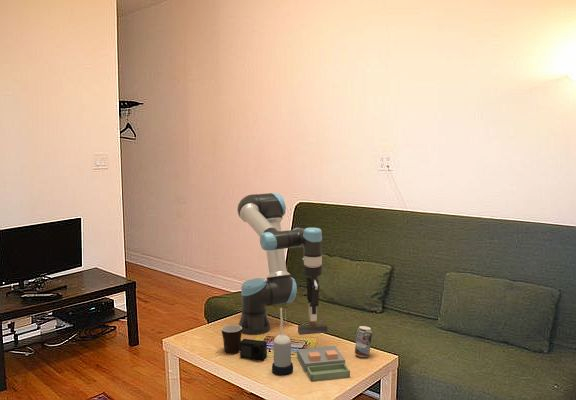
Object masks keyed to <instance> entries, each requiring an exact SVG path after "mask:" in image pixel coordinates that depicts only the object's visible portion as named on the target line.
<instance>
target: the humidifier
mask: <svg viewBox="0 0 576 400" xmlns="http://www.w3.org/2000/svg"><path fill="white" fill-rule="evenodd" d="M286 312H287V311H286V309H285V314H284V315H285V324H286V325H287V321H286V318H287V317H286V316H287V314H286ZM279 313H280V314H279V316H280V317H279V318H280V325H279V331H280V333H279V334H278V335H276V336H275V337H274V340H273V342H272V343H273V362H272V364H271V365H272V366H271V372H272V374H273V375H275V376H278V377H286V376H290V375H292V374H293V372H294V363H293V362H292V342H291V338H290V337H289V336H288V335H287V333H284V331H283V330H284V328H283V325H284V319H283V308H282V307H281V308H279Z"/></svg>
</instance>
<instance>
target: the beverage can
mask: <svg viewBox="0 0 576 400" xmlns="http://www.w3.org/2000/svg"><path fill="white" fill-rule="evenodd" d="M372 337H373V331H372V328H371V327H369V326H365V325H359V326H358V328H357V330H356V338H355V347H354V348H355V349H354V353H355V354H356V356H358V357H360V358H367V357H369V355H370V353H371V344H372Z"/></svg>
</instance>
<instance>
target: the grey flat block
mask: <svg viewBox="0 0 576 400" xmlns="http://www.w3.org/2000/svg"><path fill="white" fill-rule="evenodd" d="M329 350H335V351H336V352H337V353H338V359H331V360H328V359H327V358H326V356H325V351H329ZM296 351H297V352H296V353H297V356H296V357H297V359H298V361H299V363H300V365H301V367H302V369H303V371H304V373H306V374H307V367H309V366H319V365H329V364H339V363H345V364H346V359H345V358H344V356H343V355H342V353H341V352H340V351H339V349H338V348H337V347H336V345H331V346H320V347H309V348H297V350H296ZM308 352H319V354H320V356H321V361H310V360H309V358H308Z"/></svg>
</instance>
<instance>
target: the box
mask: <svg viewBox="0 0 576 400" xmlns="http://www.w3.org/2000/svg"><path fill="white" fill-rule="evenodd" d="M306 374H307V376H308V378H309V380H310V382H316V381H317V382H319V381H327V380H337V379H345V378H346V379H347V378H351V370H350V369H349V368H348V366H347V364H346V362H345V363H339V364H329V365H319V366H309V367H307V372H306Z"/></svg>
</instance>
